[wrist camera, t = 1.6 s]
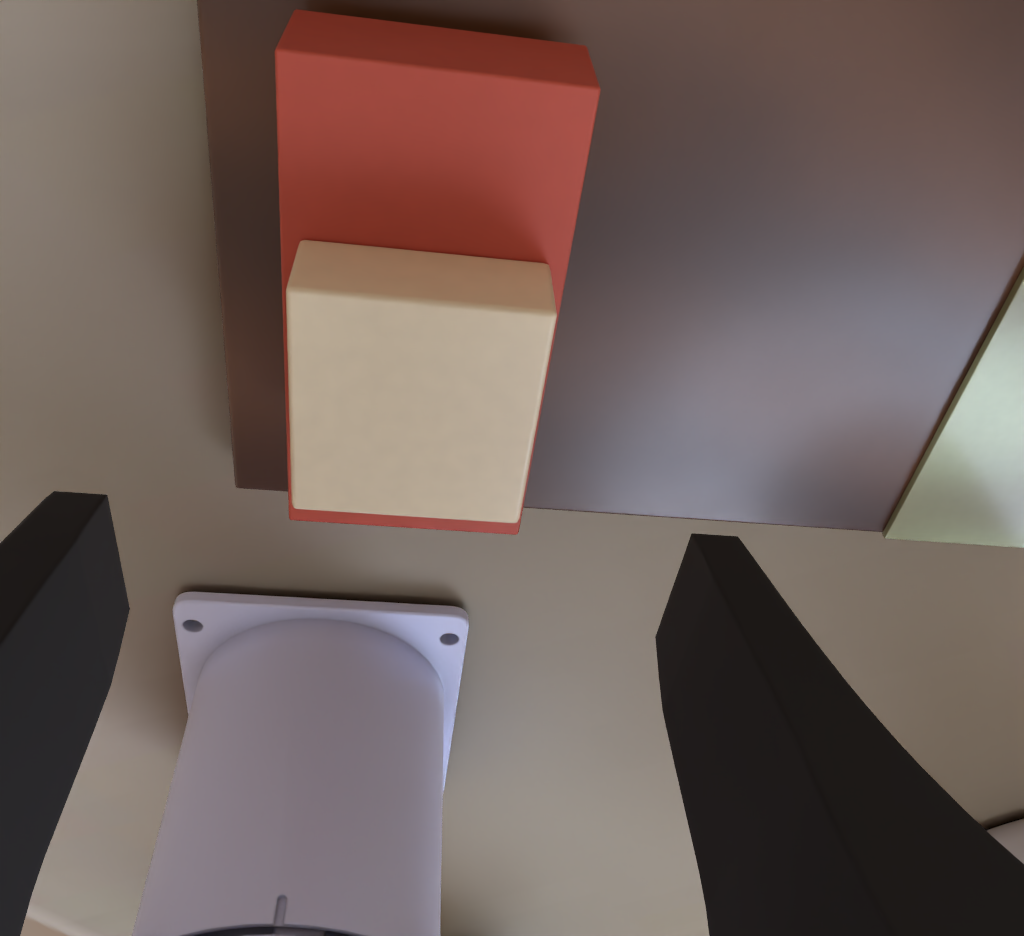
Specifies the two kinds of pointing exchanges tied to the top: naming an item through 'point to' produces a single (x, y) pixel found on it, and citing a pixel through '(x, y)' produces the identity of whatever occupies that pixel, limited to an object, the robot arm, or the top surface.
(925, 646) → the top surface
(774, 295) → the board
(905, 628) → the top surface
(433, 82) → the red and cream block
